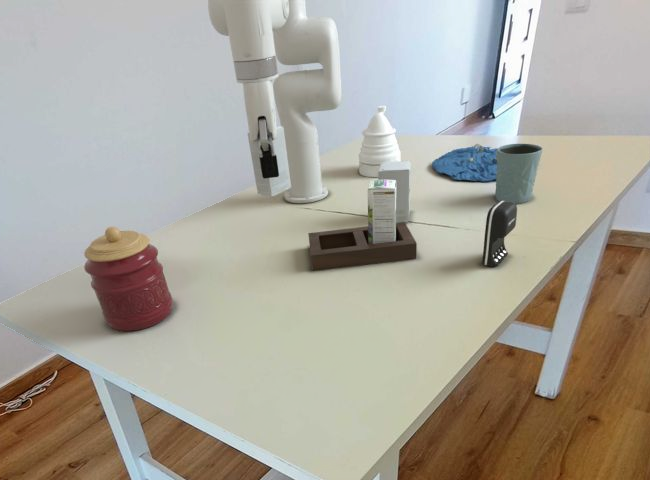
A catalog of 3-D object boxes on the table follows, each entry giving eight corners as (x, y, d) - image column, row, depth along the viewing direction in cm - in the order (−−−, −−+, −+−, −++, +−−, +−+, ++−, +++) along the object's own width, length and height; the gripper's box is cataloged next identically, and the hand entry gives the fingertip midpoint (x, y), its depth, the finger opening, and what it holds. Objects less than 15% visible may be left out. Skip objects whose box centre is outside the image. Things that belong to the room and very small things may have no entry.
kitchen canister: (138, 339, 89) (104, 247, 79) (92, 323, 95) (55, 237, 85) (188, 304, 97) (164, 218, 87) (143, 292, 104) (115, 210, 93)
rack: (309, 247, 114) (308, 233, 112) (404, 236, 113) (404, 221, 111) (312, 270, 104) (311, 255, 102) (416, 258, 104) (416, 243, 102)
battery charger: (499, 269, 96) (507, 212, 90) (480, 265, 98) (486, 209, 92) (512, 255, 101) (521, 200, 94) (494, 252, 103) (501, 197, 96)
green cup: (489, 203, 124) (495, 154, 117) (494, 190, 132) (499, 142, 125) (533, 205, 121) (542, 154, 114) (535, 191, 128) (543, 142, 121)
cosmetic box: (277, 185, 104) (268, 124, 97) (292, 188, 102) (284, 125, 95) (256, 195, 101) (245, 132, 94) (272, 198, 98) (262, 134, 91)
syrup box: (369, 245, 111) (367, 180, 103) (396, 244, 110) (396, 178, 102) (368, 256, 107) (366, 189, 99) (396, 255, 106) (396, 187, 98)
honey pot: (372, 163, 163) (370, 103, 153) (407, 166, 156) (408, 103, 146) (351, 174, 155) (348, 112, 145) (388, 178, 148) (387, 113, 138)
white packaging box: (409, 222, 120) (409, 169, 112) (378, 223, 121) (377, 170, 114) (410, 211, 125) (411, 160, 118) (381, 212, 127) (380, 161, 120)
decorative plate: (552, 180, 137) (556, 161, 134) (442, 189, 139) (444, 170, 135) (518, 148, 160) (521, 131, 157) (424, 156, 162) (425, 140, 159)
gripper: (238, 66, 95) (254, 160, 106) (231, 80, 81) (250, 187, 92) (277, 61, 95) (289, 156, 106) (276, 74, 81) (290, 183, 92)
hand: (271, 170), depth 99 cm, fingers closed on cosmetic box, 7 cm apart
